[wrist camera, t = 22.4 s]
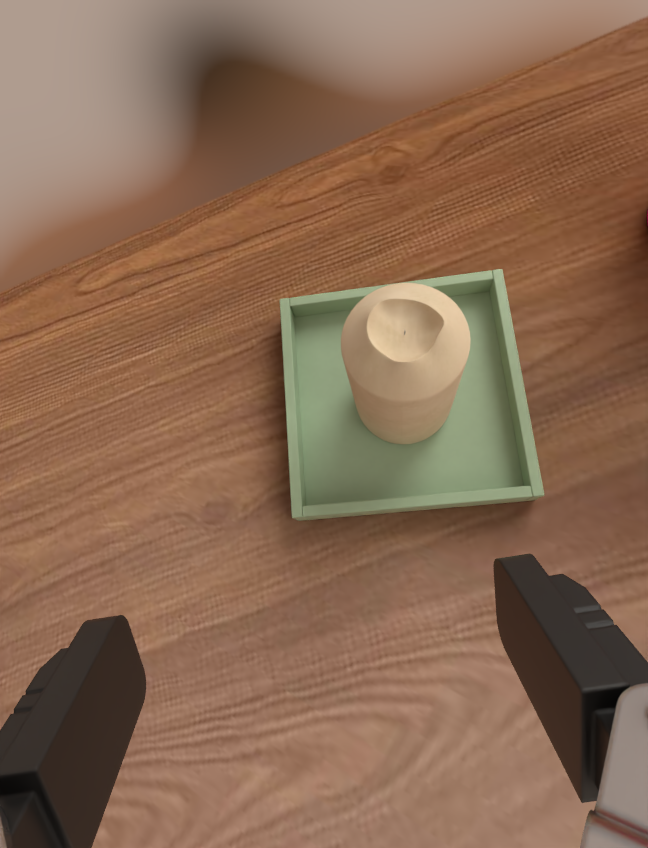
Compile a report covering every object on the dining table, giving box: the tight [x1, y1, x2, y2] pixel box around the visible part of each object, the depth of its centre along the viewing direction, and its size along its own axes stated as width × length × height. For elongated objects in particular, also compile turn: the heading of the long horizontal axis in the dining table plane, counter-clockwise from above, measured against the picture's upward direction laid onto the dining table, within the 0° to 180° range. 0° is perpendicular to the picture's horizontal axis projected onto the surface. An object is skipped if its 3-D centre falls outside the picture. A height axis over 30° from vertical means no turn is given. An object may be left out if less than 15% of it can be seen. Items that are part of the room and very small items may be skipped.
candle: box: [341, 283, 471, 444], centre depth 26 cm, size 6×6×10 cm
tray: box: [280, 269, 544, 521], centre depth 30 cm, size 13×13×2 cm
